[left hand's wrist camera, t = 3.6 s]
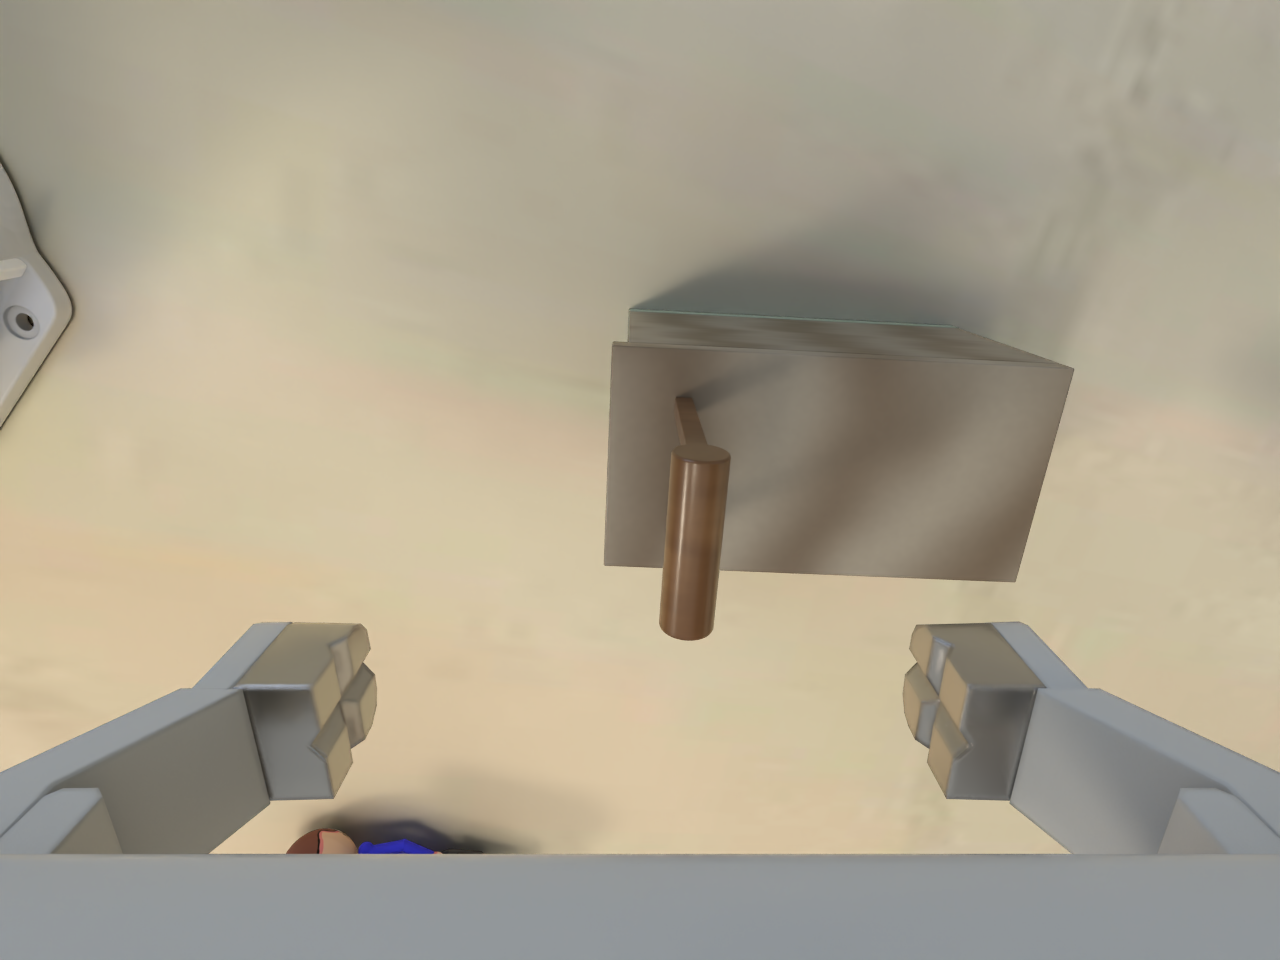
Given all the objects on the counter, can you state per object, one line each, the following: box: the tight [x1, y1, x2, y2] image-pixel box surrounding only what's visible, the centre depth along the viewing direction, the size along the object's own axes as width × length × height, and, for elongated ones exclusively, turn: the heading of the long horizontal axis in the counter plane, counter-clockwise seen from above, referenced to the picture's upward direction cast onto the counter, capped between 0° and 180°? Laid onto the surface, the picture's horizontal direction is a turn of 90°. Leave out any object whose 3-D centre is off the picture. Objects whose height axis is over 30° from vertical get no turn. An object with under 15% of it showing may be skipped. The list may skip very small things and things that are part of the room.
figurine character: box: [286, 828, 484, 854], centre depth 46 cm, size 7×8×15 cm
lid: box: [604, 342, 1074, 640], centre depth 25 cm, size 18×9×9 cm, turn 87°
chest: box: [628, 309, 1059, 364], centre depth 34 cm, size 17×9×10 cm, turn 87°
